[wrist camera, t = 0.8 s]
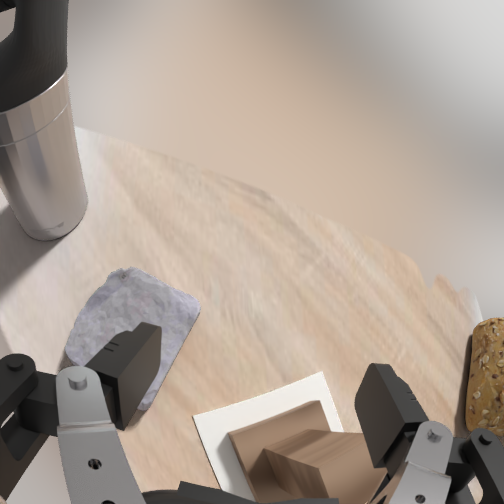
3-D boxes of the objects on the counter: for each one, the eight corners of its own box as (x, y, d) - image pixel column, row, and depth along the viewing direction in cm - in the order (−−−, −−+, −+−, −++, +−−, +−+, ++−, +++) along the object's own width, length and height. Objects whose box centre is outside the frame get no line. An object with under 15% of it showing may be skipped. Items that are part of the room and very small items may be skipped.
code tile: (192, 415, 23) (192, 415, 23) (321, 370, 29) (322, 370, 29) (242, 532, 18) (243, 533, 18) (358, 476, 24) (359, 476, 23)
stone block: (70, 367, 23) (155, 419, 22) (48, 352, 20) (142, 415, 18) (126, 275, 30) (207, 313, 29) (115, 250, 26) (206, 290, 25)
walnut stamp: (227, 432, 23) (273, 453, 13) (310, 400, 27) (389, 391, 17) (258, 507, 20) (316, 556, 10) (335, 470, 23) (417, 487, 13)
